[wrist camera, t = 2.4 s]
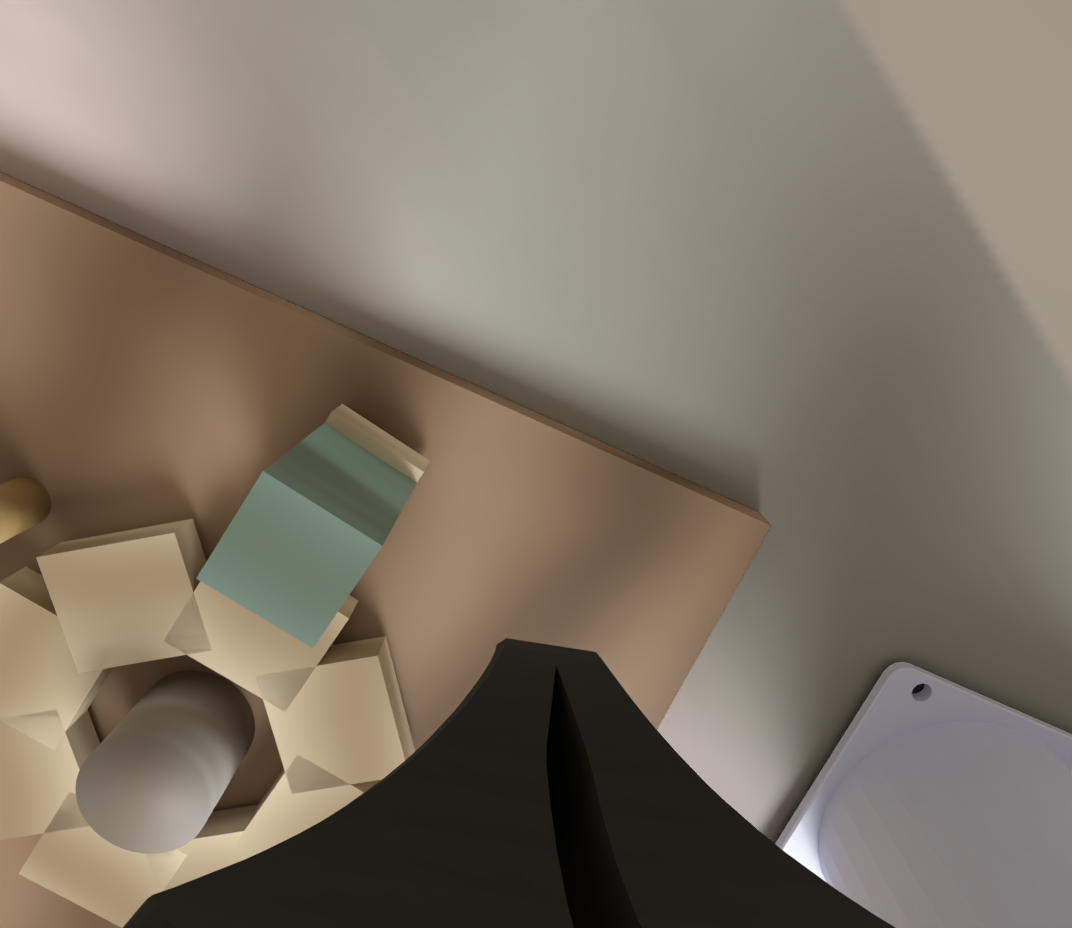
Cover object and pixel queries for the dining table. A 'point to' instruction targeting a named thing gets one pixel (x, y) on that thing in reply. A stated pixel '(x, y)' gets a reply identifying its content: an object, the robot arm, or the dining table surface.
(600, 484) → the post board
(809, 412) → the dining table surface
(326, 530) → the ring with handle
